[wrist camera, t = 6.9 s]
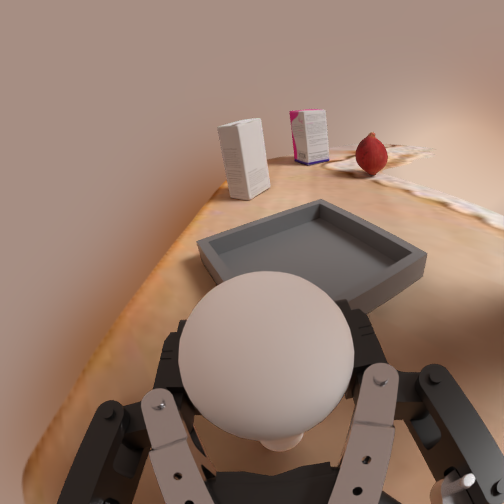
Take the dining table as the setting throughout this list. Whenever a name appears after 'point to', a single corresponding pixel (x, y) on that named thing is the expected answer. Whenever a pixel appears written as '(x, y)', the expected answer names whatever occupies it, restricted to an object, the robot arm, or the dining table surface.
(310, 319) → the lightbulb
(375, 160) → the onion
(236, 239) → the parts tray
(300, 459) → the dining table surface
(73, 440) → the dining table surface
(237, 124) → the skincare box
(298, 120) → the supplement box
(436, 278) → the dining table surface
